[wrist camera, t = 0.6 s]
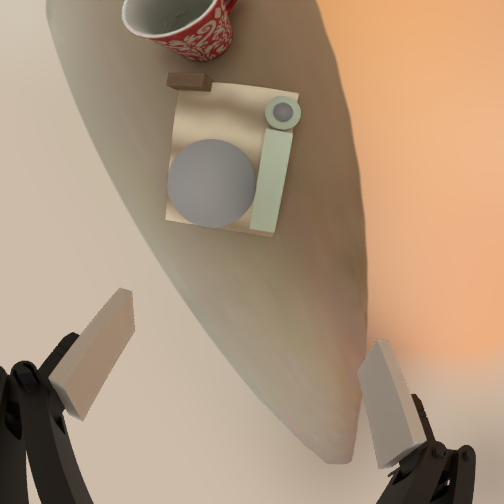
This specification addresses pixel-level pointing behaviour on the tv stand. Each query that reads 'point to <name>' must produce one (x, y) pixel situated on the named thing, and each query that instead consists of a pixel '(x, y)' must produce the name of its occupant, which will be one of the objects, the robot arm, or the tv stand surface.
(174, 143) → the board
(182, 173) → the seat pad
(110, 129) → the tv stand surface
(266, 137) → the leg
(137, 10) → the mug
